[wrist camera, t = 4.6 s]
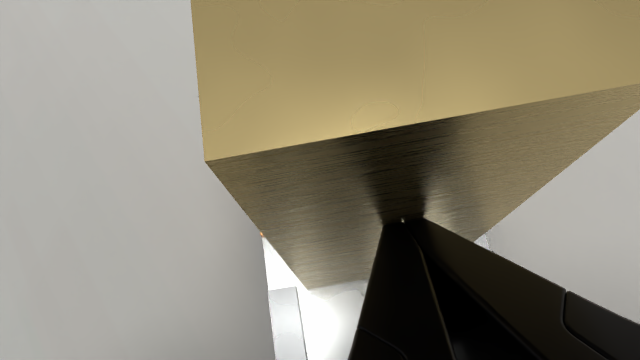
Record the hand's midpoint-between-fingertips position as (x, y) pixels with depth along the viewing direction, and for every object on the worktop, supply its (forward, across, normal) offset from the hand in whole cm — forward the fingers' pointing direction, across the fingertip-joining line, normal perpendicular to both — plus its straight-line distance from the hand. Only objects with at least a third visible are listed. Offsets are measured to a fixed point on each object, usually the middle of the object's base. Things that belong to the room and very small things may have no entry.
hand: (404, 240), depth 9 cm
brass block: (+7, 0, +3) cm, 8 cm away
